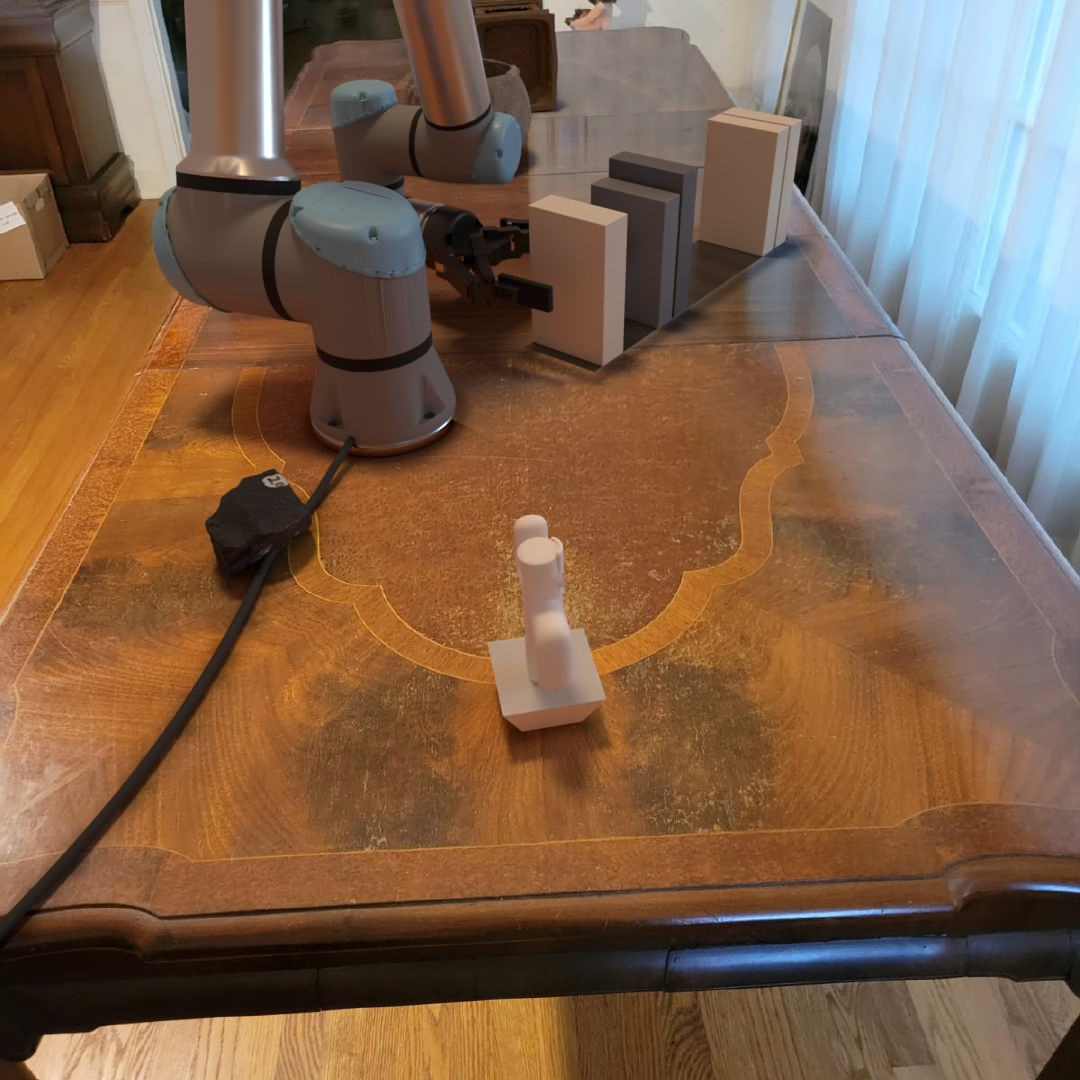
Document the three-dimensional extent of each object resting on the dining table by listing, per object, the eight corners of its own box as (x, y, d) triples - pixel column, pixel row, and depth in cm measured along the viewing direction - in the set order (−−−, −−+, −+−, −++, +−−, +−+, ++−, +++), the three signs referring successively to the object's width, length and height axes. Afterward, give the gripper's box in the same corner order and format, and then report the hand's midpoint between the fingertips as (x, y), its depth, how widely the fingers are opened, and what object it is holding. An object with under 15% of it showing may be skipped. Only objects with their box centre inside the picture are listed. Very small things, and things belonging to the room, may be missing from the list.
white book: (602, 366, 109) (605, 225, 99) (532, 341, 114) (528, 205, 104) (623, 352, 111) (627, 213, 101) (553, 328, 116) (551, 193, 106)
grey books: (658, 328, 115) (666, 183, 105) (589, 306, 120) (590, 166, 110) (687, 308, 119) (698, 166, 109) (619, 288, 124) (623, 150, 114)
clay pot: (404, 186, 158) (393, 87, 149) (412, 146, 175) (403, 54, 165) (534, 182, 159) (531, 83, 149) (530, 142, 175) (528, 50, 165)
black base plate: (594, 381, 109) (594, 372, 108) (524, 356, 114) (524, 346, 113) (788, 246, 136) (789, 238, 135) (725, 230, 141) (726, 222, 140)
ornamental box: (471, 82, 217) (454, -11, 206) (550, 67, 216) (537, -28, 205) (477, 124, 189) (457, 19, 178) (567, 107, 189) (553, 1, 177)
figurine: (508, 763, 68) (496, 604, 59) (487, 666, 75) (475, 511, 66) (609, 745, 69) (614, 587, 60) (579, 651, 76) (580, 497, 67)
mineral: (189, 534, 89) (173, 482, 85) (281, 497, 93) (269, 446, 89) (234, 594, 82) (219, 540, 79) (331, 552, 87) (320, 499, 83)
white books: (762, 256, 131) (778, 132, 121) (697, 240, 136) (707, 119, 126) (785, 241, 135) (802, 119, 125) (721, 225, 140) (733, 107, 130)
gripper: (503, 233, 126) (645, 266, 117) (369, 307, 110) (521, 353, 100) (501, 174, 121) (648, 204, 112) (360, 242, 105) (518, 284, 96)
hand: (592, 275), depth 106 cm, fingers open, 14 cm apart
